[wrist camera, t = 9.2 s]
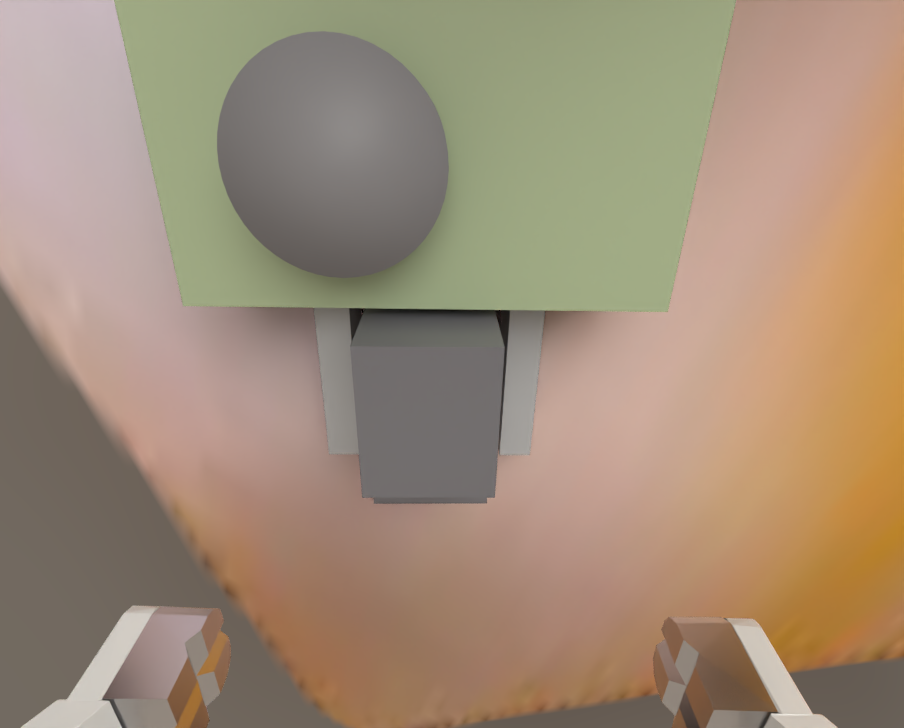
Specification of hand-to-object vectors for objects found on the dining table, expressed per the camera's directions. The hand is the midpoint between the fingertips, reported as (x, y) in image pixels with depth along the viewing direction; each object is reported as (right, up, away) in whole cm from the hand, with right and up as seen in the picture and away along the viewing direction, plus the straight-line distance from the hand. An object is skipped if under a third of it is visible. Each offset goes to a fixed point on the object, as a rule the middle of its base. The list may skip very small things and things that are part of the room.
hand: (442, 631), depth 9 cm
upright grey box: (-1, +5, +12) cm, 13 cm away
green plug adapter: (-1, +9, +10) cm, 13 cm away
